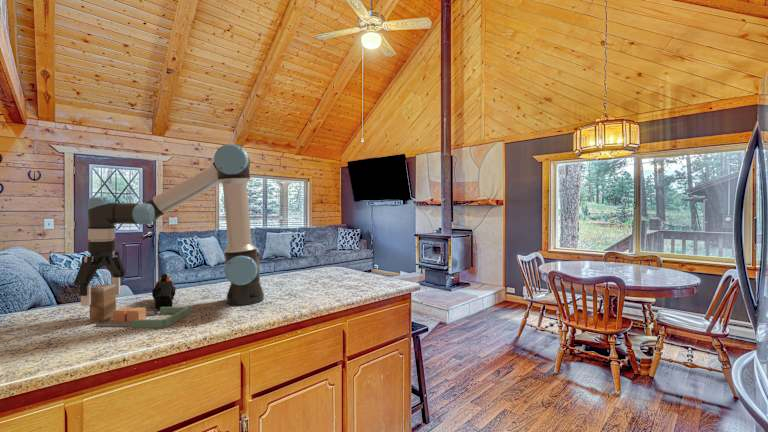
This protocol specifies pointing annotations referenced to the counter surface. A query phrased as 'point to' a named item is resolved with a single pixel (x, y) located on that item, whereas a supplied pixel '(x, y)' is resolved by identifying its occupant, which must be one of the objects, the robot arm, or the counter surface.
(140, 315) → the orange cube piece
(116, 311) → the orange cubic piece
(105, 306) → the light brown tall block
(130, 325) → the slot rails
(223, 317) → the counter surface
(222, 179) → the robot arm
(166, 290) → the tool
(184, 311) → the green u-shaped frame
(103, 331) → the counter surface
